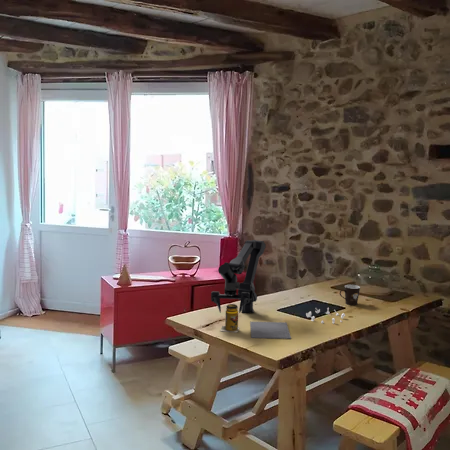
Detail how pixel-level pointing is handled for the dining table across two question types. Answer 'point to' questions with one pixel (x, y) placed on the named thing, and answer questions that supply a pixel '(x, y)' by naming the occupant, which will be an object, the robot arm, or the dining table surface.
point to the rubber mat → (270, 330)
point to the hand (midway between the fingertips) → (229, 312)
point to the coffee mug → (351, 294)
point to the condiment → (231, 319)
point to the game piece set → (327, 313)
